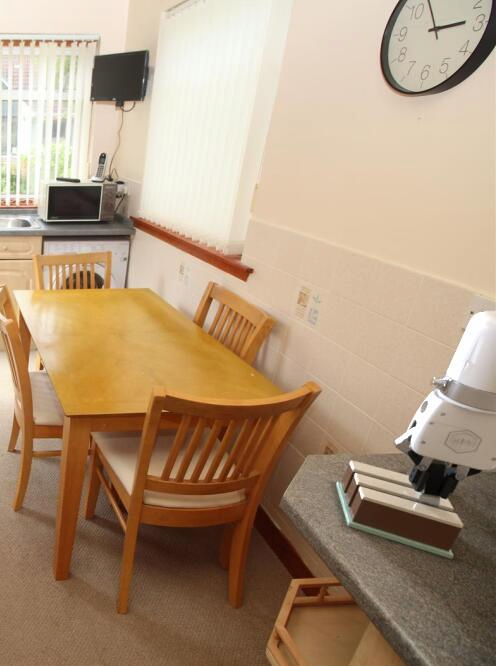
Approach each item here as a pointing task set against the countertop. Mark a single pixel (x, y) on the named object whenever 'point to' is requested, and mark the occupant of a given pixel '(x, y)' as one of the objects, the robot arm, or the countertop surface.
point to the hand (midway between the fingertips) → (427, 489)
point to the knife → (433, 484)
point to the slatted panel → (396, 509)
